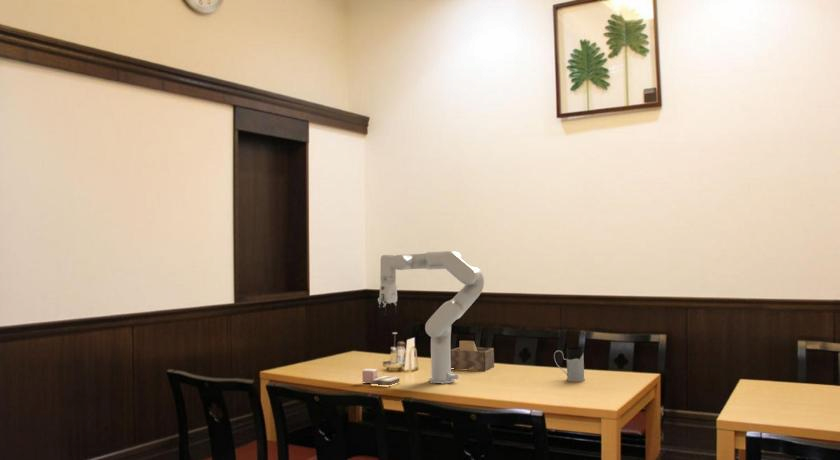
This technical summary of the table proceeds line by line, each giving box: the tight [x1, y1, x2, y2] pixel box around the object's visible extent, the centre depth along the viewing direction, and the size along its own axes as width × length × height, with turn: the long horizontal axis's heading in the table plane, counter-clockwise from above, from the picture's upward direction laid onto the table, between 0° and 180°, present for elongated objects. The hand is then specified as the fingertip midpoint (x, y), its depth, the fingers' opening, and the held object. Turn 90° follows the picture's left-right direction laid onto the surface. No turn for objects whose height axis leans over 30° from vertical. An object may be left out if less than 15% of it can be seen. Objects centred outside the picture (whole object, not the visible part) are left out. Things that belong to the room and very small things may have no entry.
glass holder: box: [553, 346, 586, 382], centre depth 319 cm, size 9×14×15 cm, turn 78°
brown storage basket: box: [451, 347, 495, 372], centre depth 357 cm, size 20×14×10 cm
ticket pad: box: [370, 375, 401, 385], centre depth 316 cm, size 10×10×3 cm
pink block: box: [361, 368, 379, 383], centre depth 320 cm, size 6×4×6 cm, turn 64°
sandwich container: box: [458, 340, 478, 371], centre depth 358 cm, size 9×15×15 cm, turn 152°
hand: (387, 314), depth 330 cm, fingers open, 9 cm apart
